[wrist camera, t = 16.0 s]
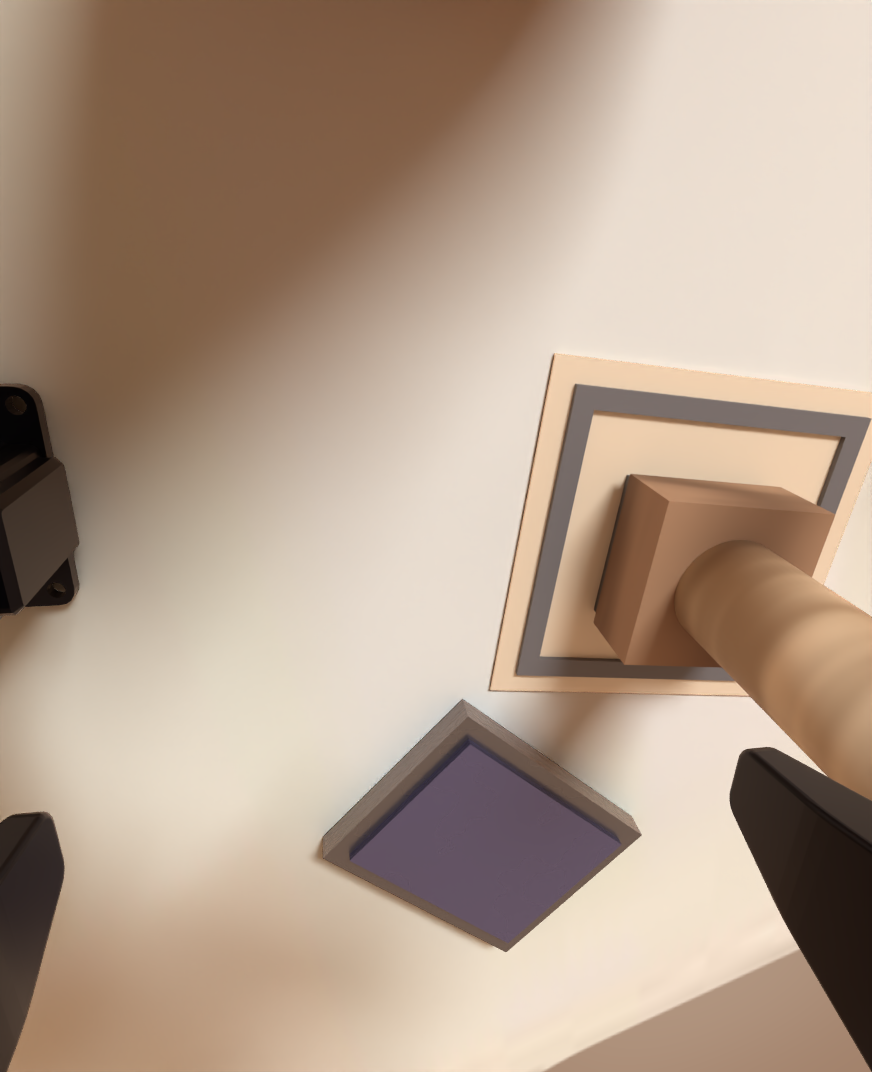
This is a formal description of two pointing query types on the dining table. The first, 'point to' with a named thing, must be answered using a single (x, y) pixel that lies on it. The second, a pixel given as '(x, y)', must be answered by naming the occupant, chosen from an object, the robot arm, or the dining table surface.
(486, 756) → the ink pad
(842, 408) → the marked card
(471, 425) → the dining table surface
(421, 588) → the dining table surface
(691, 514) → the stamp
